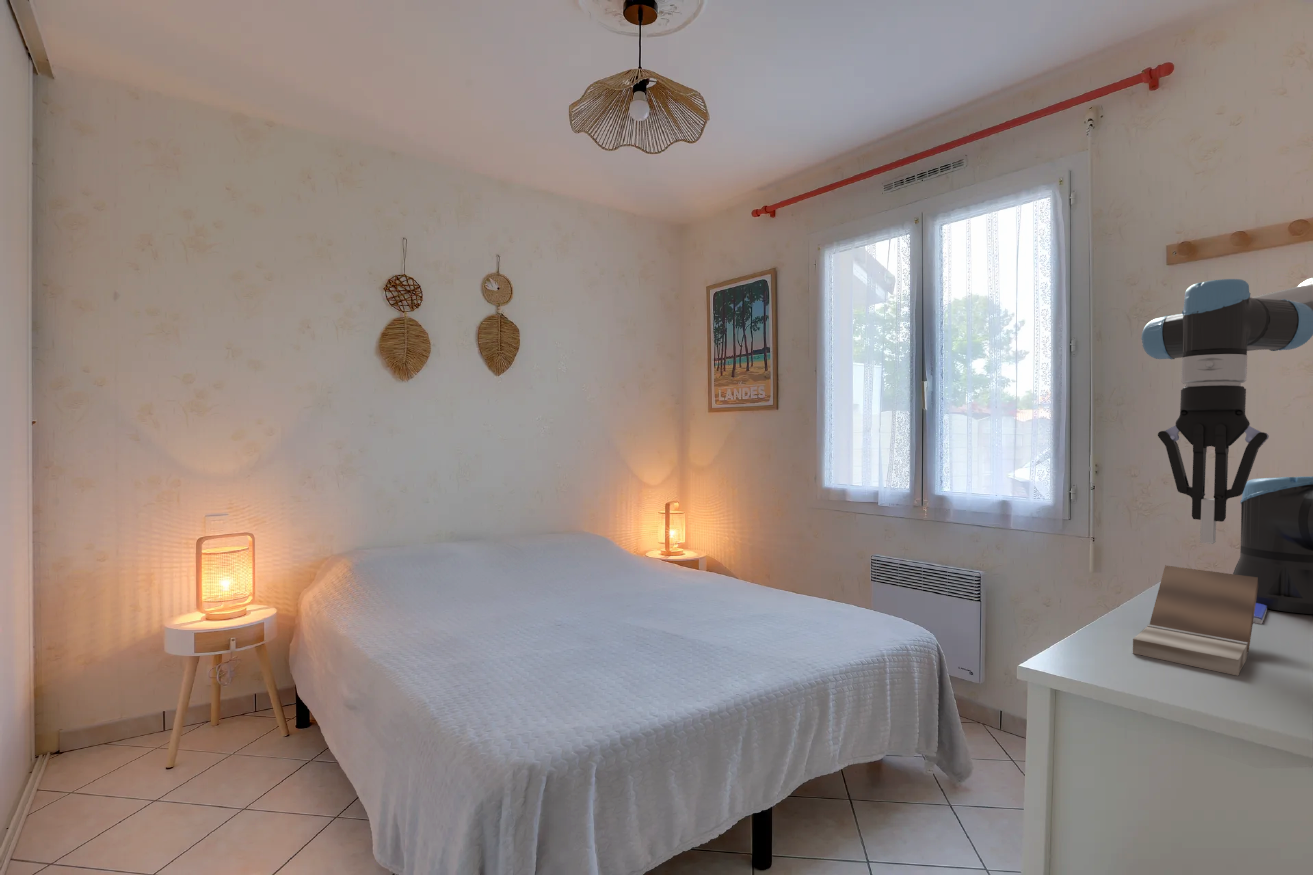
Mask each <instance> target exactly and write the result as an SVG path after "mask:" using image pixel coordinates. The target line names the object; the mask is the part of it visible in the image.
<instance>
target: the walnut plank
mask: <svg viewBox="0 0 1313 875" xmlns="http://www.w3.org/2000/svg"><path fill="white" fill-rule="evenodd" d="M1257 592H1258V577H1250V576H1243V575H1235V574H1233V573H1225V572H1219V571H1212V570H1211V571H1210V570H1203V569H1198V568H1197V569H1195V568H1188V567H1179V566H1171V565H1166V564H1165V565H1164V568H1163V573H1162V575H1161V579H1160V583H1159V588H1158V591H1157V595H1156V599H1155V602H1154V606H1153V610H1152V614H1151V617H1150V620H1149V624H1150V625H1156V626H1161V627H1166V628H1172V629H1177V630H1183V631H1188V632H1193V633H1199V634H1204V635H1210V636H1215V637H1221V638H1226V639H1231V640H1237V641H1242V642H1248V648H1247V653H1250V652H1249V651H1250V646H1251V645H1250V644H1251V638H1252V631H1253V624H1254V622H1253V619H1254V612H1255V605H1256V598H1257Z"/></svg>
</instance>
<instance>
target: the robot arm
mask: <svg viewBox="0 0 1313 875" xmlns="http://www.w3.org/2000/svg"><path fill="white" fill-rule="evenodd" d="M1249 285H1250V284H1249V283H1248V282H1247V281H1246V280H1244V279H1239V278H1223V279H1211V280H1206V281H1201V282H1197V283H1194V284H1192V285H1190V286H1189V287H1188V288H1187V289H1186V290H1185V293H1184V299H1183V300H1184V301H1183V302H1184V304H1183V308H1182V309H1183V310H1182V312H1181V313H1176V314H1172V315H1171V314H1169V315H1164V316H1161V317H1156V318H1154V319H1151V320H1150V321H1149V322H1148V323H1146V324H1145V326H1144V327H1143V330H1142V332H1141V343H1142V347H1143V350H1144V352H1145V353H1146V354H1147V355H1148V356H1149V357H1151V358H1153V359H1156V360H1175V359H1180V358H1181V375H1180V377H1181V378H1180V382H1181V383H1182V385H1185V386H1184V387H1182V388H1181V390H1180V406H1179V408H1180V411H1179V412H1180V413H1179V417H1178V418H1177V419H1176V421H1175V425H1173V426H1171V427H1168V428H1167V429H1166V430H1161V431H1159V432H1158V433H1157V437H1158V438H1159V439H1160V440H1161V442H1162V443H1163V445H1164V446H1165V449H1166V452H1167V456H1168V460H1169V463H1170V468H1171V471H1172V475H1173V479H1174V482H1175V486H1176V491H1177V492H1178V493H1180V494H1183V495H1187V496H1189V497H1190V498H1191V501H1192V503H1191V517H1192V520H1196V521H1197V520H1200V531H1199V533H1200V535H1199V541H1200V542H1199V543H1201V544H1208V545H1210V544H1211V545H1213V544H1216V542H1217V541H1216V539H1217V538H1216V537H1217V522H1222V523H1223V522H1225V521H1226V517H1227V516H1226V515H1227V501H1228V499H1231V498H1237V497H1240V496H1241V499H1240V506H1241V507H1240V508H1241V509H1240V514H1241V515H1240V518H1241V519H1240V550H1239V551H1240V552H1239V554H1240V555H1239V559H1238V560H1237V563H1236V565H1235V567H1234V570H1233V572H1232V574H1235V575H1243V576H1250V577H1258V592H1257V598H1256V603H1259V604H1264V605H1267V610H1274V611H1281V612H1287V613H1294V614H1295V613H1297V614H1304V615H1313V476H1281V477H1262V478H1261V477H1260V478H1252V479H1249V477H1250V474H1251V471H1252V469H1253V466H1254V463H1255V460H1256V457H1257V454H1258V451H1259V449H1260V448H1261V447H1262V445H1264V443H1265V442H1266V441H1267V440H1268V439H1269V437H1270V435H1269V433H1267V432H1262V431H1260V430H1258V429H1256V428H1254V427H1253V426H1251V423H1250V420H1249V419H1248V418H1247V416H1246V404H1247V403H1246V402H1247V401H1246V400H1247V398H1246V397H1247V388H1245V387H1244V386H1243V385H1241V384H1242V383H1244V384H1245V382H1246V381H1247V373H1248V372H1247V371H1248V368H1247V367H1248V352H1250V351H1265V350H1269V351H1272V352H1277V351H1289V350H1294V349H1297V348H1299V347H1301V346H1303V345H1305V344H1306V343H1307V342H1309V340H1311V339H1312V337H1313V277H1311V278H1307V279H1306V280H1304V281H1303V282H1301V283H1299V284H1298V286H1295V287H1289V288H1286V289H1282V290H1277V291H1274V292H1269V293H1265V294H1264V293H1263V294H1261V295H1255V296H1251V293H1250V286H1249ZM1179 433H1181V434H1182V435H1183V437H1184V438H1185V439H1186V440H1187V441H1188V442H1189V443H1190V445H1191V446H1192V453H1193V456H1192V483H1191V486H1190V484H1189V480H1188V477H1187V476H1188V475H1187V473H1186V469H1185V465H1184V461H1183V457H1182V455H1181V450H1180V448H1179V444H1178V442H1177V441H1178V440H1180V436H1179ZM1244 434H1245V435H1246V436H1245V439H1244V440H1245V442H1246V443H1248V444H1247V445H1246V447H1245V448H1244V451H1243V454H1242V458H1241V460H1240V463H1239V465H1238V468H1237V471H1236V474H1235V477H1234V480H1233V482H1232V485H1231V488H1229V489H1228V470H1229V469H1228V468H1229V448H1230V446H1232V445H1233V444H1234V443H1235V442H1237V440H1238V439H1240V437H1241V436H1242V435H1244ZM1208 447H1213V448H1214V454H1215V455H1214V489H1213V490H1214V491H1213V492H1214V493H1213V498H1205V496H1206V493H1205V492H1206V491H1205V490H1206V470H1207V469H1206V466H1207V465H1206V464H1207V463H1206V462H1207V453H1208V452H1207V451H1208Z"/></svg>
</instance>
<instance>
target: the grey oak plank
mask: <svg viewBox="0 0 1313 875" xmlns="http://www.w3.org/2000/svg"><path fill="white" fill-rule="evenodd" d="M1247 648H1248V642H1242V641H1237V640H1231V639H1226V638H1221V637H1215V636H1210V635H1204V634H1199V633H1193V632H1188V631H1183V630H1177V629H1172V628H1166V627H1161V626H1156V625H1150V623H1149V624H1147V625H1146V627H1145V628H1144V629H1143V630H1142V631H1140V632H1139V633H1138V634H1137V635H1136V636H1135V637H1133V638H1132V654H1133V655H1137V656H1139V655H1140V656H1144V657H1149V658H1153V659H1157V660H1162V661H1163V660H1164V661H1167V662H1171V663H1176V664H1182V665H1185V666H1186V665H1187V666H1190V667H1196V668H1201V669H1205V670H1209V671H1212V672H1213V671H1214V672H1219V673H1222V674H1223V673H1224V674H1228V675H1233V676H1237V677H1238V676H1239V675H1240V673H1241V671H1242V668H1243V667H1244V666H1245V663H1246V662H1247V660H1248V652H1247Z"/></svg>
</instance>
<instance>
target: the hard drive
mask: <svg viewBox="0 0 1313 875" xmlns="http://www.w3.org/2000/svg"><path fill="white" fill-rule="evenodd" d="M1267 611H1268V609H1267V605H1264V604H1259V603H1256V605H1255V612H1254V619H1253V624H1254V623H1255V624H1263V621H1264V620H1265V616H1266V614H1267Z"/></svg>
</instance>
